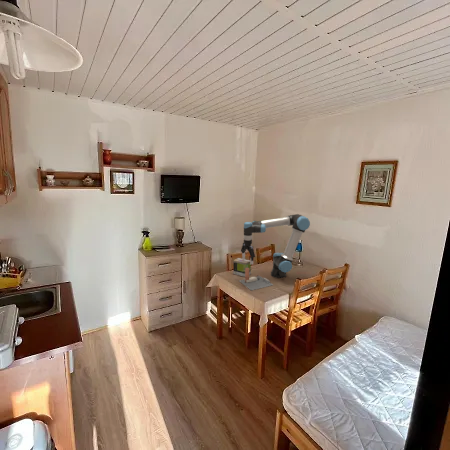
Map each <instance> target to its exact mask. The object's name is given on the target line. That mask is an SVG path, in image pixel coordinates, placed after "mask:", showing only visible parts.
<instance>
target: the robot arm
mask: <svg viewBox="0 0 450 450" xmlns="http://www.w3.org/2000/svg"><path fill="white" fill-rule="evenodd" d="M282 226H288V227H289V226H292V227H291V229H292V232H291V234H290V236H289V238H288V241H287V244H286V246H285V249H284V250H283V252H274V253H273V255H272V257H273V259H272V269H271V271H270V276H271V277H272V278H275V279H284V278H286V277H287V273H289V272H291V270H292V269H293V264H292V263H293V261H294V259H293V256H294V254H295V251H296V250H297V247H298V245H299V242H300V239H301V237H302V235H303V234H304V233H305V232H306V231H307V230H308V229H309V228H310V226H311V222H310V220H309V218H308V217H306V216H305V215H302V214H298V213H297V214H291V215H286V216H283V217H278V218H277V217H276V218H270V219H265V220H258V221H257V220H253V221H252V222H251V221H245V222H244V223H243V242H242V246H241V249H240V252H241V256H242V257H241V259H242V260H245V259H246V251H248V253H249V255H250V257H249V258H250V259H249V260H250V264H251V265H254V258H256V255H255V250H254V246H252V244H253V234H257V233H258V234H262V233H265V232H266V230H267V229H269V228H277V227H282Z"/></svg>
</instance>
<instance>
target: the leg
mask: <svg viewBox="0 0 450 450" xmlns="http://www.w3.org/2000/svg"><path fill="white" fill-rule="evenodd" d="M256 277H257V276H251V277H250V275H249V268H245V277H244V279H245V282H247V283H248V282H252V281H257V278H256Z"/></svg>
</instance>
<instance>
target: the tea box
mask: <svg viewBox="0 0 450 450" xmlns="http://www.w3.org/2000/svg"><path fill="white" fill-rule="evenodd" d="M232 261H233V264H232V265H233V268H232V270H233V273H232V274H233V275H237V276H240V277H244V278H245V268H249V276H250V275H251V274H252V273H251V272H252V266H251V265H252V264H250V259H246V258H245V260H242V257H237V258H236V259H234V260H232Z"/></svg>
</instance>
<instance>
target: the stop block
mask: <svg viewBox="0 0 450 450" xmlns="http://www.w3.org/2000/svg"><path fill="white" fill-rule="evenodd" d="M262 278H263V281H264V282H266V283H267V284H269V283H271V280H270V279H268V278H266V277H262Z"/></svg>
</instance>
